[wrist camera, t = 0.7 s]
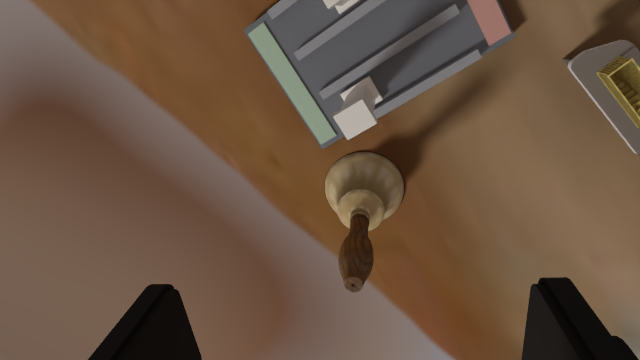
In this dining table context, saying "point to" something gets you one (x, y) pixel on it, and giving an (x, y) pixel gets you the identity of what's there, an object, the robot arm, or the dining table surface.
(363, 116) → the handle
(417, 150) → the dining table surface
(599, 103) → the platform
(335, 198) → the hand bell
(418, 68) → the panel
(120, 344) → the robot arm
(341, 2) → the handle
